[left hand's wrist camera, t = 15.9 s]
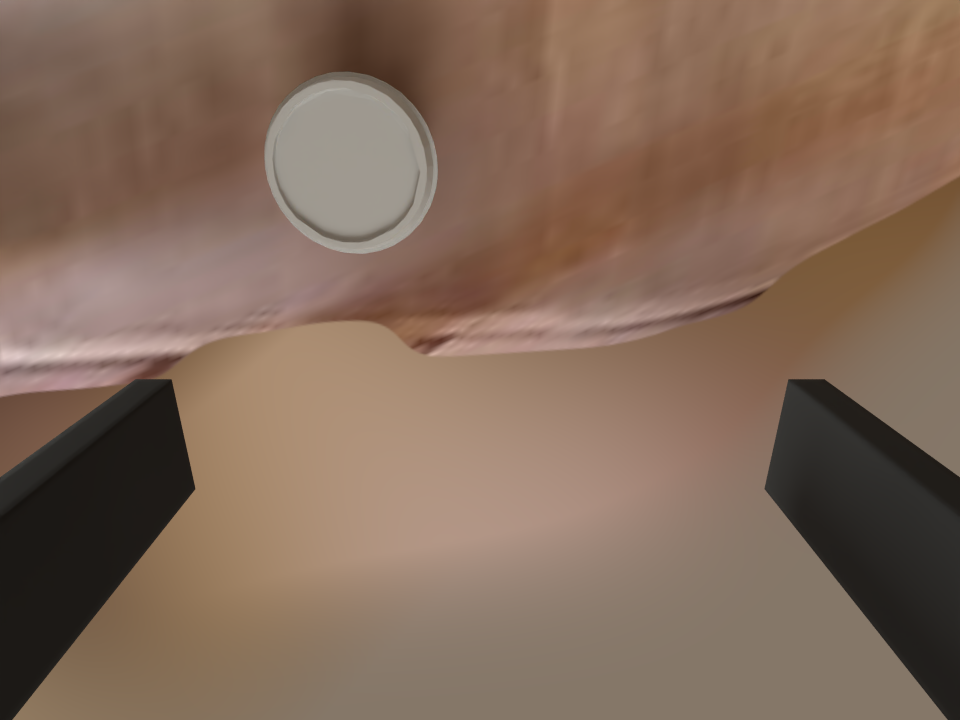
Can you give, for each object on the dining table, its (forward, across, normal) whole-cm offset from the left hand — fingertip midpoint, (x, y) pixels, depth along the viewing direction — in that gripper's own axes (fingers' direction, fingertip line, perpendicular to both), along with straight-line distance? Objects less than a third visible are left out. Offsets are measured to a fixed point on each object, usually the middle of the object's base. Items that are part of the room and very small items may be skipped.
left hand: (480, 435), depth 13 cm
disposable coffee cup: (+33, +7, -4) cm, 34 cm away
